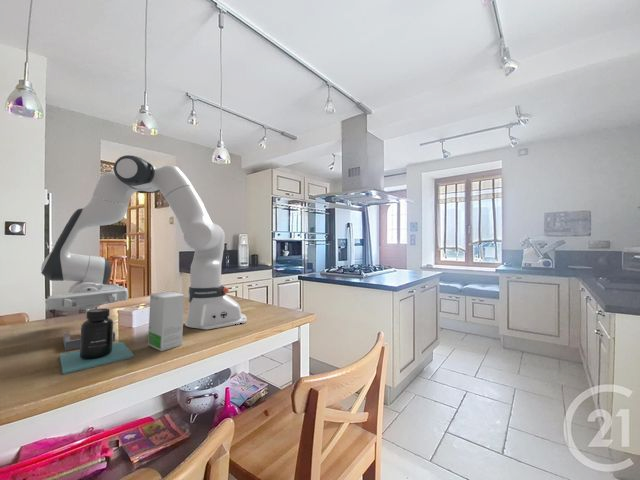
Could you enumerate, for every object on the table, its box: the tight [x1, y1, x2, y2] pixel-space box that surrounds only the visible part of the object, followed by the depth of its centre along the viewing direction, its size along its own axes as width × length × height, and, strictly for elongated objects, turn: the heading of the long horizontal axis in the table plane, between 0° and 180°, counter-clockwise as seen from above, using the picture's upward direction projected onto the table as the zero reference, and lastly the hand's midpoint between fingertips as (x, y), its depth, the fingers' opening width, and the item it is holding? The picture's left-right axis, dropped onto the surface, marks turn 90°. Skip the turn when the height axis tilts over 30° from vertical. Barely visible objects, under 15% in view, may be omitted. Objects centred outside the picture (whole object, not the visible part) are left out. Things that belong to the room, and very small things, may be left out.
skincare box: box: [147, 290, 185, 352], centre depth 83 cm, size 8×7×16 cm
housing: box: [62, 330, 116, 352], centre depth 85 cm, size 10×11×2 cm
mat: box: [59, 341, 135, 375], centre depth 74 cm, size 14×14×1 cm
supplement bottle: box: [79, 307, 114, 359], centre depth 74 cm, size 7×7×12 cm
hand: (93, 301), depth 85 cm, fingers open, 8 cm apart
